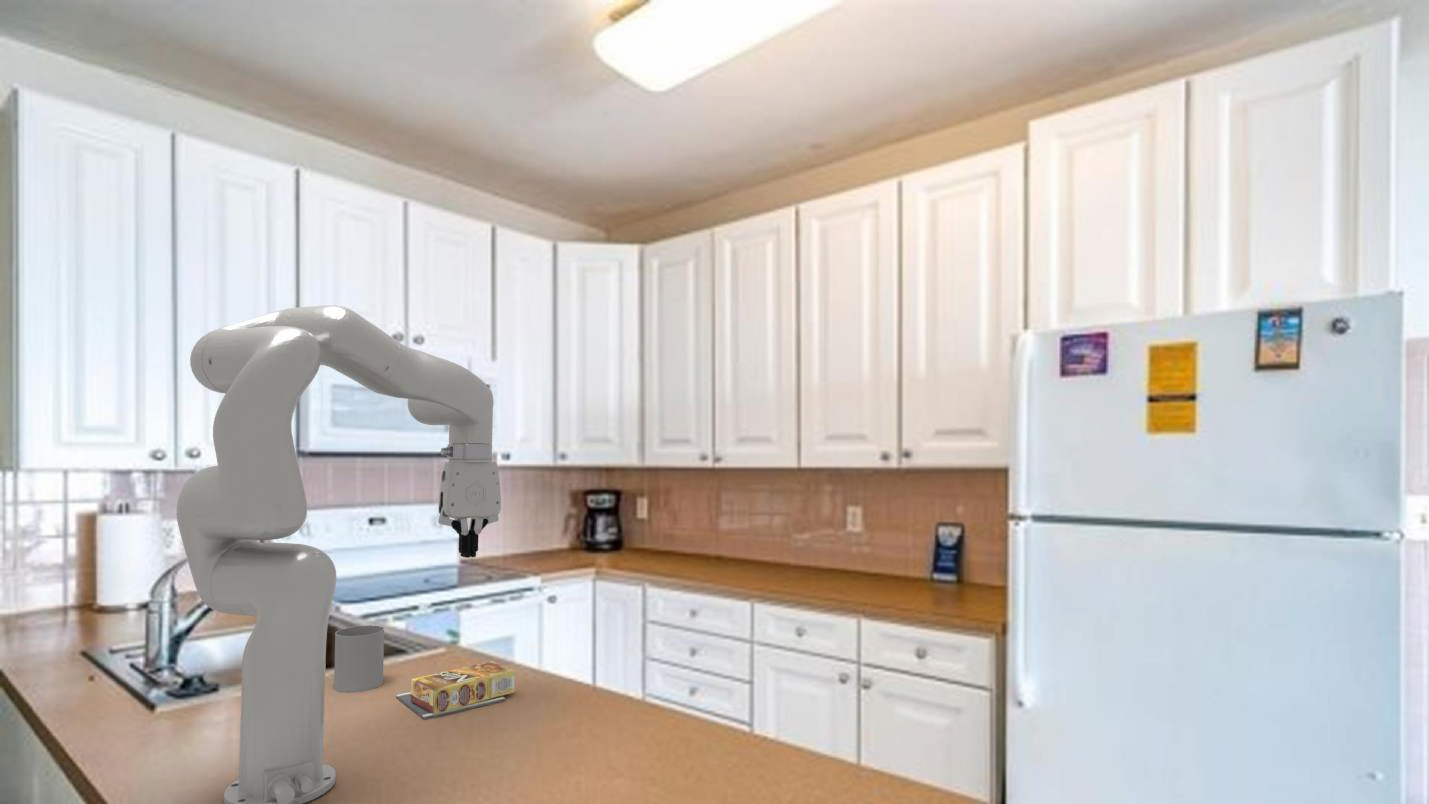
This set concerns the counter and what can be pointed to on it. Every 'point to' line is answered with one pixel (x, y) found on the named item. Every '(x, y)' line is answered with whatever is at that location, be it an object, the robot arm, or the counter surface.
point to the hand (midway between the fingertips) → (468, 556)
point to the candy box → (462, 686)
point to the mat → (427, 714)
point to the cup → (359, 658)
